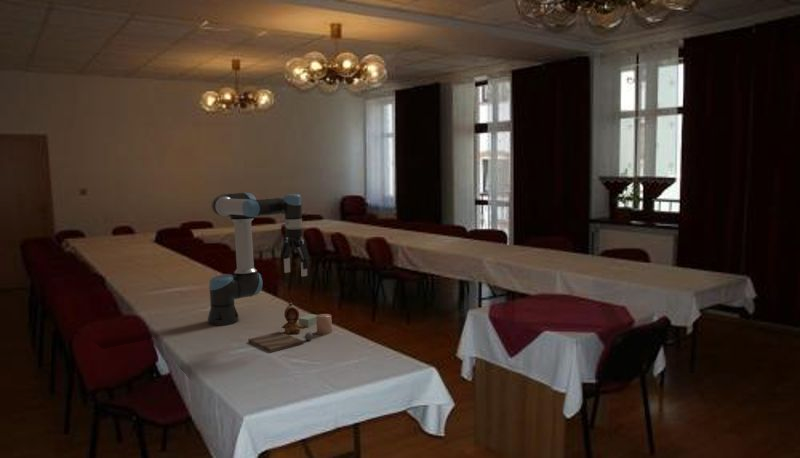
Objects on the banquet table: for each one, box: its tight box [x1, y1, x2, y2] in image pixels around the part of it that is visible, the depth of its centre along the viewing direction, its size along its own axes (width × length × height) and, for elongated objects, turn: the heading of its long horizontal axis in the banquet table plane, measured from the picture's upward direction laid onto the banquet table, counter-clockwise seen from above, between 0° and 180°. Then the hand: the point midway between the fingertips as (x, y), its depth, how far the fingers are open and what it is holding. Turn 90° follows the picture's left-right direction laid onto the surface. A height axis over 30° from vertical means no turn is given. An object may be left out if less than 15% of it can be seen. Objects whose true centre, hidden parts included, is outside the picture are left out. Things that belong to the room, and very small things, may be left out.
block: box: [298, 313, 318, 328], centre depth 291 cm, size 6×9×4 cm, turn 150°
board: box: [247, 331, 304, 353], centre depth 261 cm, size 20×16×2 cm
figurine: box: [281, 302, 304, 335], centre depth 278 cm, size 10×8×15 cm
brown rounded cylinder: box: [316, 313, 333, 336], centre depth 276 cm, size 7×7×8 cm
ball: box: [304, 332, 314, 341], centre depth 264 cm, size 4×4×4 cm
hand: (295, 274), depth 269 cm, fingers open, 13 cm apart
